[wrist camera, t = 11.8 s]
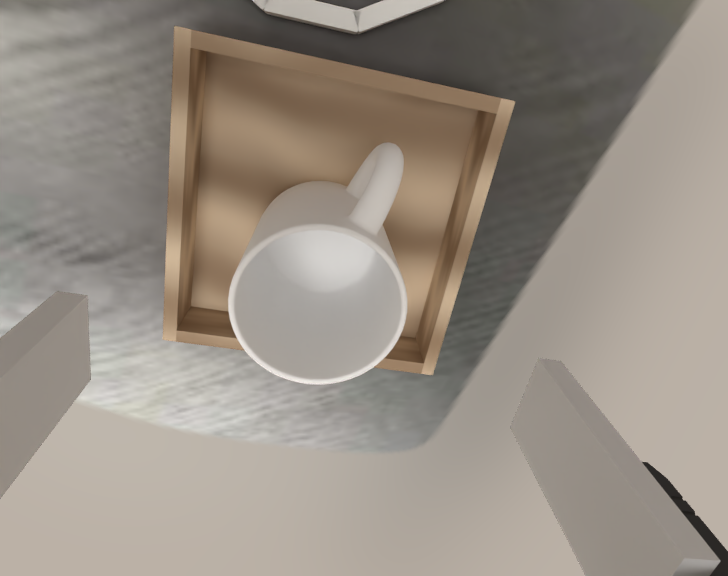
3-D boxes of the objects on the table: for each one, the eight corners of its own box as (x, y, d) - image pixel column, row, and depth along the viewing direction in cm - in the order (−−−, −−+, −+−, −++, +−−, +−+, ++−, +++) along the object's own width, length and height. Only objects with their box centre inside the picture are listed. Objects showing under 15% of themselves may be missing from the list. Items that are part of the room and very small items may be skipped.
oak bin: (195, 32, 27) (174, 25, 23) (491, 98, 29) (515, 101, 25) (180, 310, 33) (162, 339, 30) (421, 344, 36) (432, 375, 32)
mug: (327, 95, 28) (328, 105, 18) (441, 170, 30) (493, 213, 21) (235, 261, 31) (196, 339, 22) (342, 316, 34) (348, 409, 24)
